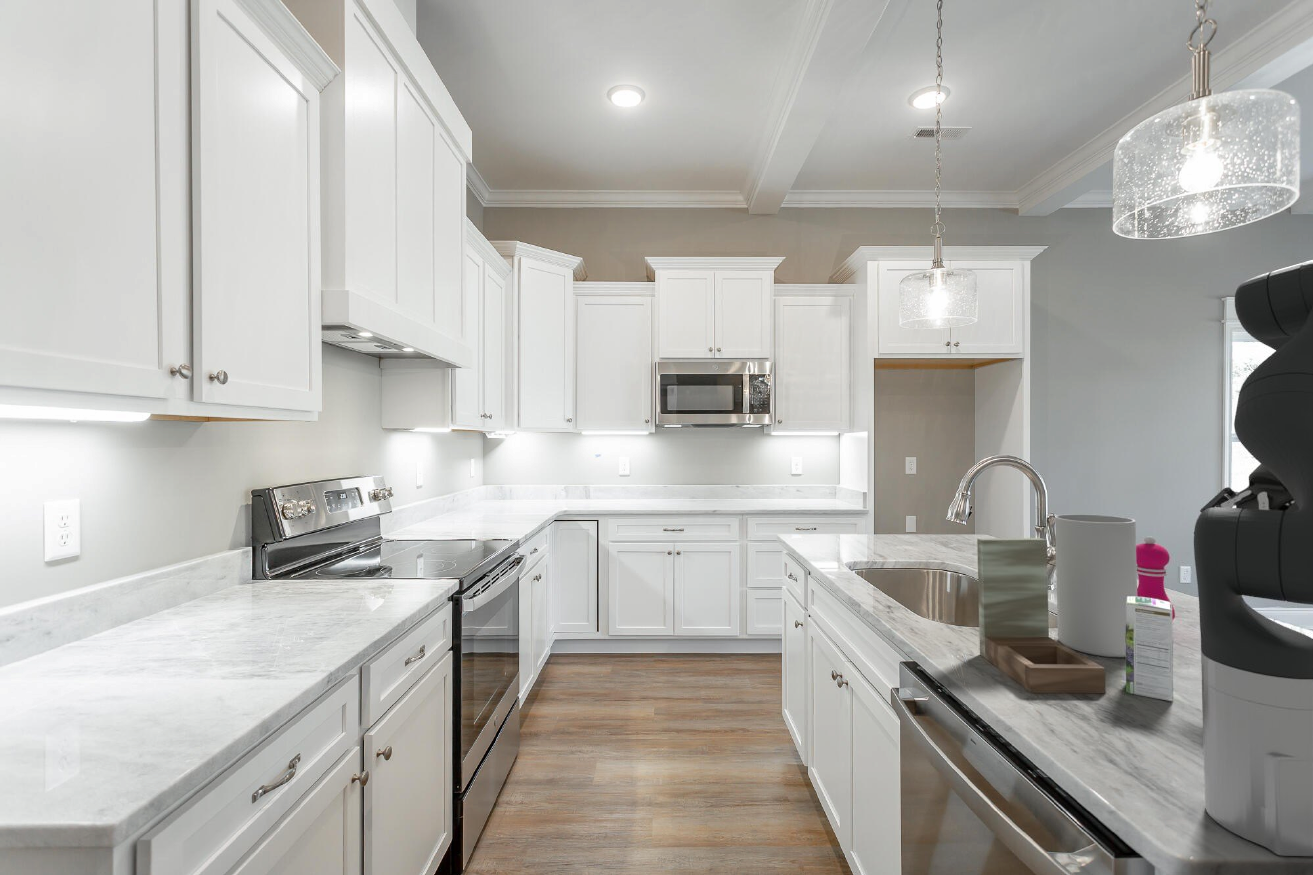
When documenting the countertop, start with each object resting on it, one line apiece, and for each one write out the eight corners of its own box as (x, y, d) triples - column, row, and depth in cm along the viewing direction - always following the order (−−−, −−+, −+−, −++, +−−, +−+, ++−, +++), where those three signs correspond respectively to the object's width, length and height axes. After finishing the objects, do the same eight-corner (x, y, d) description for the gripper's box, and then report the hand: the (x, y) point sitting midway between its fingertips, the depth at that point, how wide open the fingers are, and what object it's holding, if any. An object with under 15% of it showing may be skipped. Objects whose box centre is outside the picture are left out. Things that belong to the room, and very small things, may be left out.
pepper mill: (1170, 629, 121) (1168, 534, 122) (1180, 640, 115) (1177, 539, 115) (1126, 624, 125) (1124, 532, 125) (1133, 634, 119) (1131, 537, 119)
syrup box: (1126, 681, 97) (1124, 594, 97) (1173, 690, 93) (1171, 600, 93) (1126, 693, 92) (1123, 602, 92) (1175, 703, 89) (1173, 608, 89)
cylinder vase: (1148, 648, 111) (1145, 518, 111) (1125, 664, 104) (1121, 525, 104) (1072, 631, 121) (1070, 512, 122) (1046, 644, 114) (1043, 518, 114)
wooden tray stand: (1105, 693, 92) (1102, 555, 93) (1030, 692, 93) (1027, 556, 93) (1043, 654, 109) (1040, 538, 109) (979, 654, 110) (977, 538, 110)
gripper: (1237, 452, 99) (1167, 520, 99) (1328, 454, 85) (1246, 533, 85) (1271, 482, 98) (1201, 550, 99) (1368, 489, 84) (1286, 569, 85)
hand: (1222, 542), depth 92 cm, fingers open, 8 cm apart
